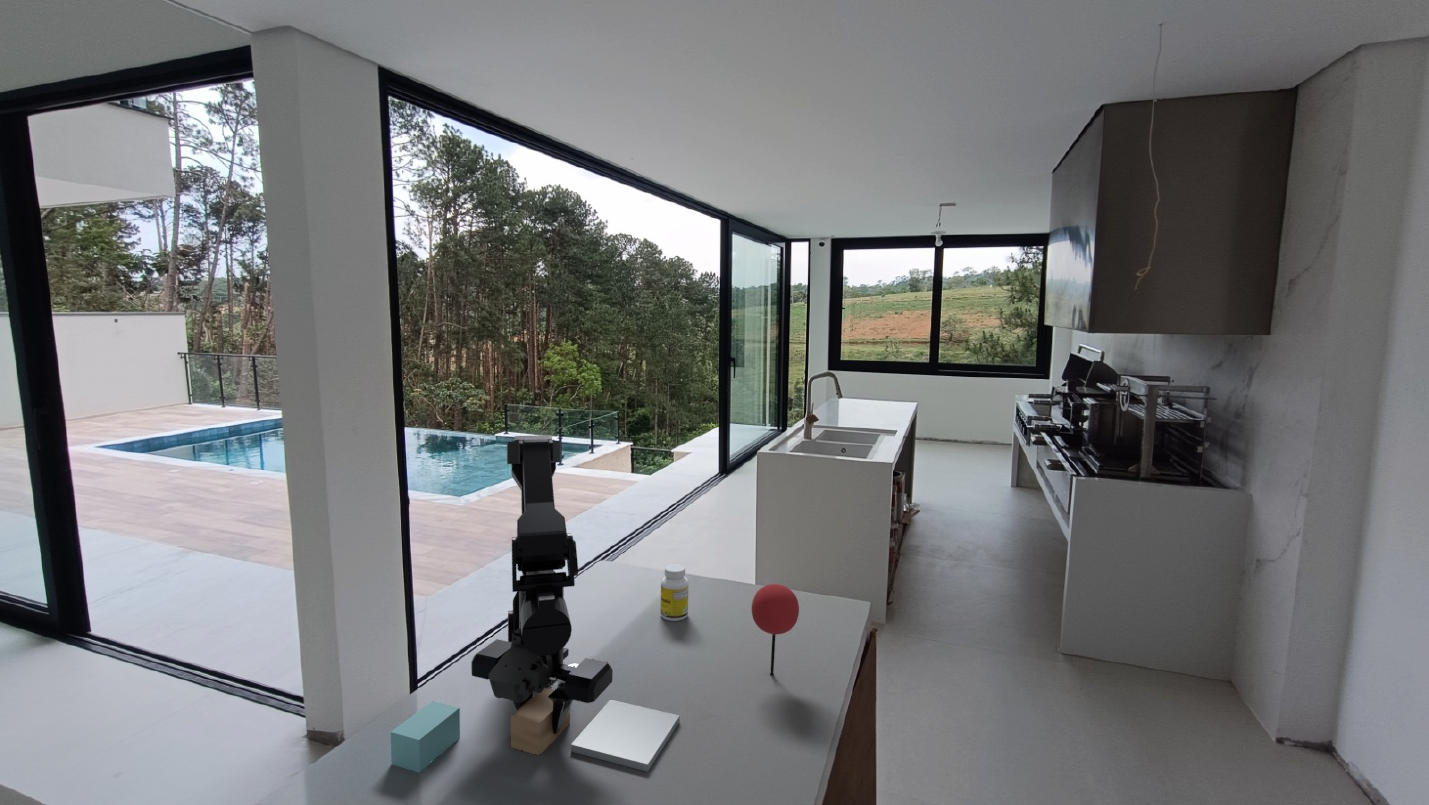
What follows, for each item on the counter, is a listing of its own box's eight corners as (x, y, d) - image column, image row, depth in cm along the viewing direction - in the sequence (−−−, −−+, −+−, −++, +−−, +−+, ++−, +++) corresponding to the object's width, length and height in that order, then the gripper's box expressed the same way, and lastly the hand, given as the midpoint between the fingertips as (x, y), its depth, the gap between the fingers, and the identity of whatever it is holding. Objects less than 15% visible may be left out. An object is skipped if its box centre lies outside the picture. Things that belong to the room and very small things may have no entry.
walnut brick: (543, 717, 90) (543, 687, 90) (569, 724, 89) (570, 694, 88) (510, 747, 84) (510, 715, 83) (539, 755, 82) (539, 723, 82)
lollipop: (794, 689, 99) (799, 598, 98) (746, 683, 101) (749, 593, 99) (796, 665, 107) (800, 579, 105) (751, 659, 108) (755, 575, 106)
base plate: (610, 705, 93) (610, 699, 93) (679, 722, 90) (679, 715, 90) (570, 751, 83) (571, 744, 83) (647, 772, 80) (647, 764, 80)
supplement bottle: (656, 612, 125) (657, 564, 124) (681, 608, 128) (682, 561, 127) (665, 623, 120) (667, 574, 119) (692, 619, 123) (693, 570, 122)
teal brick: (433, 731, 86) (432, 701, 86) (459, 739, 85) (459, 707, 85) (391, 765, 80) (390, 732, 79) (419, 774, 78) (419, 740, 78)
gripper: (441, 632, 80) (442, 748, 81) (571, 660, 74) (570, 784, 76) (497, 598, 90) (498, 701, 92) (615, 620, 84) (613, 730, 86)
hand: (541, 728), depth 86 cm, fingers closed on walnut brick, 4 cm apart
